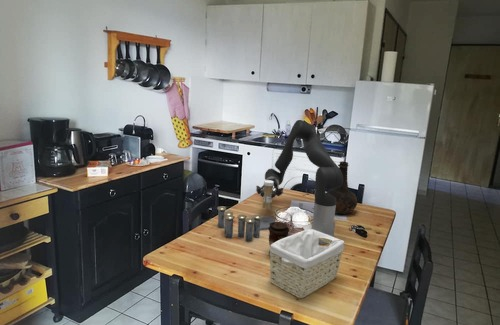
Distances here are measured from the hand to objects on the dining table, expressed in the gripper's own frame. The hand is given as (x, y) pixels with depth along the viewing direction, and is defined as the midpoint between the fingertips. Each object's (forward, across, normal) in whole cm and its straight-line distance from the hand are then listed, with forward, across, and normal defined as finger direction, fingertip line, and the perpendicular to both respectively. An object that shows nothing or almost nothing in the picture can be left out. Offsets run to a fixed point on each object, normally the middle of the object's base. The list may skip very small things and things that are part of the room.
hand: (267, 195), depth 174 cm
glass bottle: (-32, +37, +16) cm, 52 cm away
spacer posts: (+12, -11, +15) cm, 22 cm away
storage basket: (+46, +19, +15) cm, 52 cm away
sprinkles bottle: (-3, 0, +7) cm, 8 cm away
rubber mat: (-2, 0, +15) cm, 16 cm away
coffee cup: (+29, +8, +15) cm, 34 cm away
